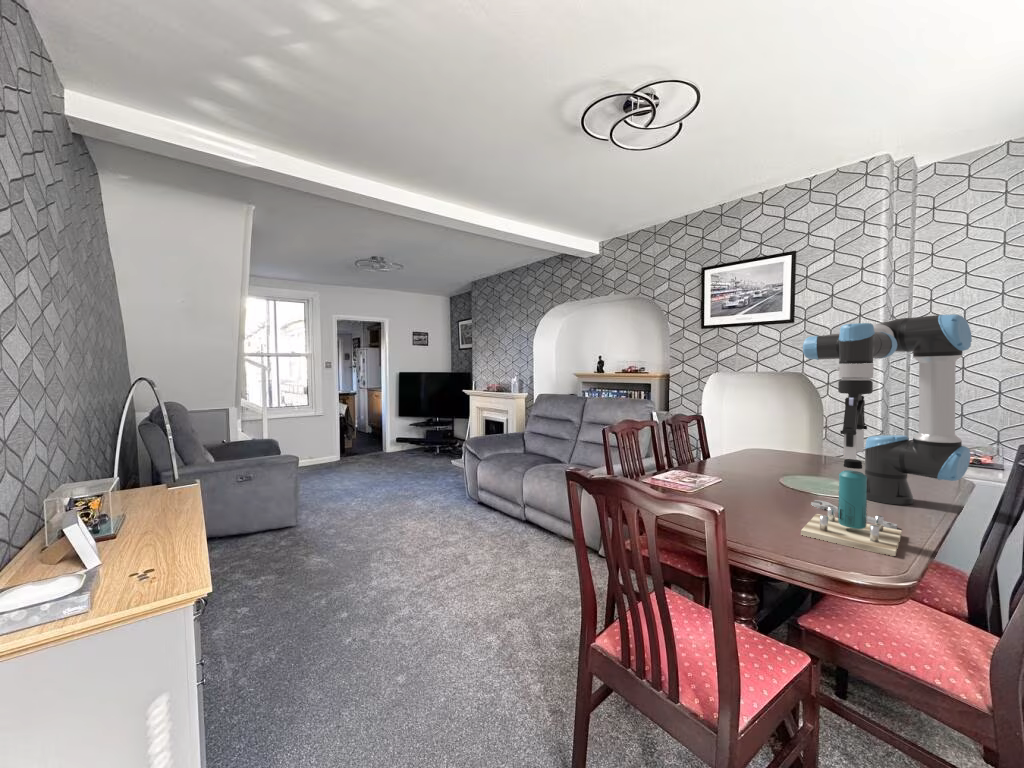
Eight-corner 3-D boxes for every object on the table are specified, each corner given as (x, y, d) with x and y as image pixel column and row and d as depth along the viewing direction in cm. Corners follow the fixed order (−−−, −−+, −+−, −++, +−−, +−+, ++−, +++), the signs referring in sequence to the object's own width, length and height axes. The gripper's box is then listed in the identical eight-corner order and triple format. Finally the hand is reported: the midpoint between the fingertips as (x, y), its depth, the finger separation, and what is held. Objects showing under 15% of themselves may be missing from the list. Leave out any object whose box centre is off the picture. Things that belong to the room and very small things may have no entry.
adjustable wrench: (899, 530, 128) (900, 524, 128) (883, 532, 126) (883, 526, 126) (820, 504, 152) (820, 499, 152) (805, 505, 150) (805, 500, 150)
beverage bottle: (872, 534, 119) (875, 462, 119) (850, 534, 119) (852, 462, 118) (852, 525, 126) (854, 457, 125) (830, 526, 125) (832, 457, 125)
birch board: (816, 518, 136) (816, 513, 136) (901, 535, 122) (901, 530, 122) (800, 535, 122) (801, 530, 122) (895, 557, 108) (895, 551, 108)
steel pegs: (828, 519, 131) (828, 506, 131) (883, 530, 122) (883, 516, 122) (819, 530, 122) (819, 516, 122) (878, 543, 113) (878, 527, 113)
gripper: (846, 378, 132) (844, 447, 133) (830, 380, 115) (828, 459, 115) (878, 378, 127) (876, 450, 128) (866, 380, 109) (864, 464, 110)
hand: (853, 455), depth 122 cm, fingers open, 13 cm apart
